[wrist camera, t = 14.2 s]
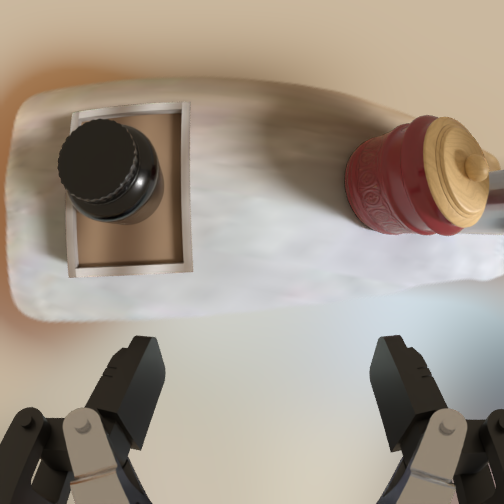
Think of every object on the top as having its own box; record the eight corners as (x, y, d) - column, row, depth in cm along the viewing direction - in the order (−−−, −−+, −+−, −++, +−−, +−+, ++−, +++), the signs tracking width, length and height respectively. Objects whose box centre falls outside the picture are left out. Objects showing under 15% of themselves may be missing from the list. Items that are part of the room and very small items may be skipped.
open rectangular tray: (189, 123, 31) (190, 101, 25) (191, 265, 32) (193, 271, 26) (89, 131, 28) (72, 112, 23) (88, 270, 29) (68, 277, 24)
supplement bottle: (107, 236, 25) (54, 238, 14) (89, 169, 24) (33, 129, 13) (175, 211, 26) (167, 193, 15) (155, 143, 26) (137, 85, 14)
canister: (324, 193, 35) (428, 166, 18) (367, 122, 36) (460, 74, 19) (391, 253, 38) (497, 264, 20) (425, 182, 39) (520, 167, 21)
